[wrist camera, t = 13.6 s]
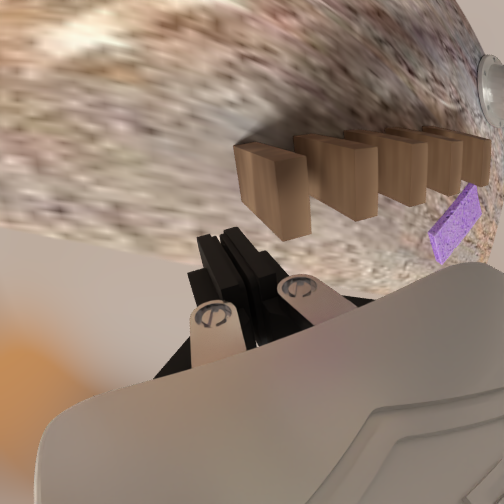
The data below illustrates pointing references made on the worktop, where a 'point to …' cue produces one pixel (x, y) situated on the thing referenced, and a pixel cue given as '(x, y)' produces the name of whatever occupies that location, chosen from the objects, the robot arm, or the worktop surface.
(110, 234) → the worktop surface
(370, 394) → the robot arm
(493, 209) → the worktop surface
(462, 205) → the sponges
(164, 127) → the worktop surface
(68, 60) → the worktop surface
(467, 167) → the tile
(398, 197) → the tile
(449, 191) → the tile
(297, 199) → the tile
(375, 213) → the tile
